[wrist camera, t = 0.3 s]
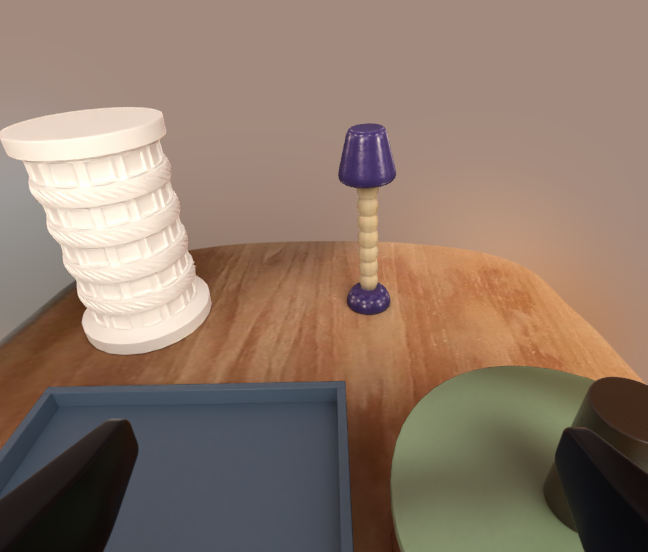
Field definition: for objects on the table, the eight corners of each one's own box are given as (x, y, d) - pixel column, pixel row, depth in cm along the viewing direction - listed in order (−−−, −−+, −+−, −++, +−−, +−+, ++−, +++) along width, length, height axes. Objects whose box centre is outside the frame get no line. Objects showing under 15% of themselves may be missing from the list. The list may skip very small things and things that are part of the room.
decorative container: (60, 355, 35) (-54, 145, 25) (121, 280, 45) (56, 108, 35) (191, 355, 34) (127, 140, 24) (224, 280, 44) (187, 104, 34)
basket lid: (1022, 824, 11) (1419, 785, 7) (428, 819, 11) (471, 780, 7) (638, 376, 24) (695, 274, 20) (373, 382, 24) (377, 282, 20)
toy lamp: (363, 323, 37) (367, 137, 28) (331, 300, 40) (325, 127, 31) (399, 302, 39) (413, 125, 30) (366, 282, 42) (370, 117, 33)
